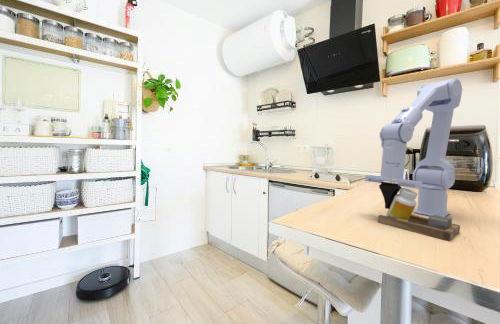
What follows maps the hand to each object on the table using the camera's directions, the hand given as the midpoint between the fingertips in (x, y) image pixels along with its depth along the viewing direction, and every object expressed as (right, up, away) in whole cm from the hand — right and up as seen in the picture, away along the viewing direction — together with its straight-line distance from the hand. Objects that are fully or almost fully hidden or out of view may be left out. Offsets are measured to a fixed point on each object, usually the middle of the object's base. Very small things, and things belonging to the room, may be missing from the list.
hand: (388, 208), depth 65 cm
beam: (+5, -4, -5) cm, 8 cm away
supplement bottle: (+1, -3, -1) cm, 4 cm away
